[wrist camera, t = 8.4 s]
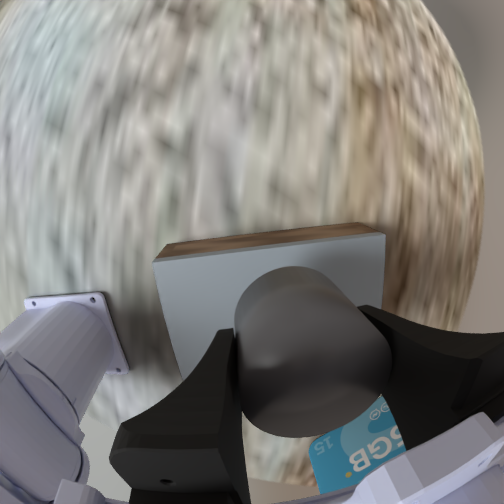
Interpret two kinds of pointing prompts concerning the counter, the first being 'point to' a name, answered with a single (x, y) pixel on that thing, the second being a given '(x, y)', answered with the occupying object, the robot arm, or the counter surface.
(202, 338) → the lid
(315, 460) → the data package
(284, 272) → the dark grey rounded plug
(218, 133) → the counter surface
